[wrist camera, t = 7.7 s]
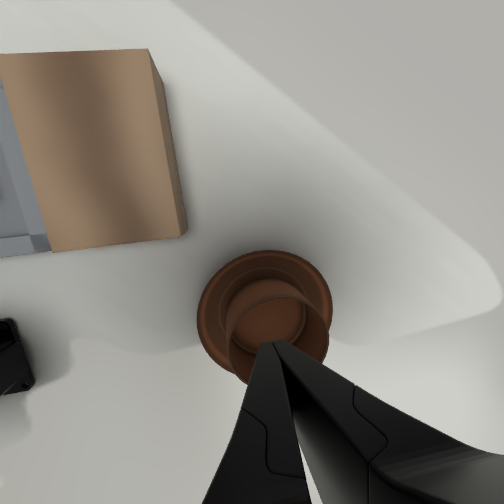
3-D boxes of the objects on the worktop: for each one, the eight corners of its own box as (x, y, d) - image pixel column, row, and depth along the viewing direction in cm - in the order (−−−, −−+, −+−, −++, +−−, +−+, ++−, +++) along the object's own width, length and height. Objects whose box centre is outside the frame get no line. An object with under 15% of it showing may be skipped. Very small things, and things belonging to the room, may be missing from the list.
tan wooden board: (85, 242, 19) (52, 252, 15) (45, 88, 17) (-7, 54, 13) (187, 229, 20) (180, 236, 16) (162, 81, 18) (147, 48, 14)
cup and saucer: (334, 342, 25) (371, 386, 19) (221, 381, 24) (222, 441, 18) (309, 229, 22) (343, 240, 16) (179, 269, 21) (165, 296, 15)
